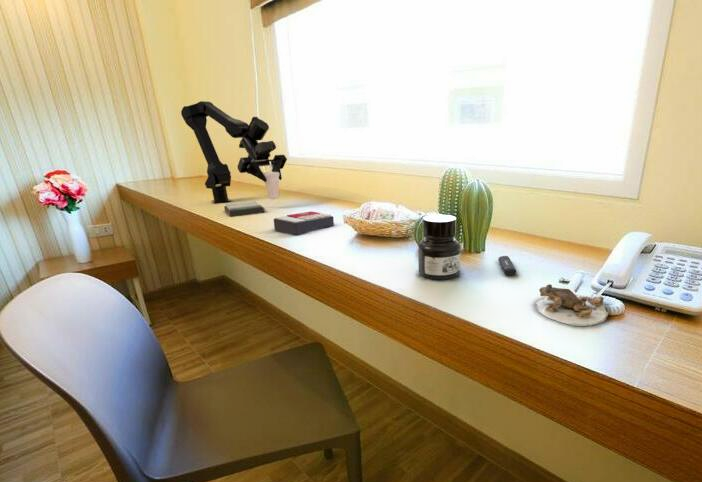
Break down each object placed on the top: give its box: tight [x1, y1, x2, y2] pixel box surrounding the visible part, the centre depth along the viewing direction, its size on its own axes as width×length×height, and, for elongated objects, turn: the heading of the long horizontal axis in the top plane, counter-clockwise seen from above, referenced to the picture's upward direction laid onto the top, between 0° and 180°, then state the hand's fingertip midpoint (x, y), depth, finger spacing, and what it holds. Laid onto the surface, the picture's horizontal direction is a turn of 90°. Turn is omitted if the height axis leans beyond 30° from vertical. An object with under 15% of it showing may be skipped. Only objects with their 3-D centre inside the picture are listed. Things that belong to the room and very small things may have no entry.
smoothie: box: [262, 161, 280, 200], centre depth 151 cm, size 6×6×14 cm
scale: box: [223, 200, 265, 217], centre depth 149 cm, size 12×12×3 cm
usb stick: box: [498, 255, 517, 276], centre depth 86 cm, size 10×3×2 cm, turn 176°
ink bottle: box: [417, 214, 462, 281], centre depth 82 cm, size 10×9×12 cm
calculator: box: [273, 211, 335, 236], centre depth 123 cm, size 11×4×15 cm
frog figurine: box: [535, 284, 609, 327], centre depth 66 cm, size 12×12×4 cm
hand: (273, 180), depth 150 cm, fingers closed on smoothie, 6 cm apart
